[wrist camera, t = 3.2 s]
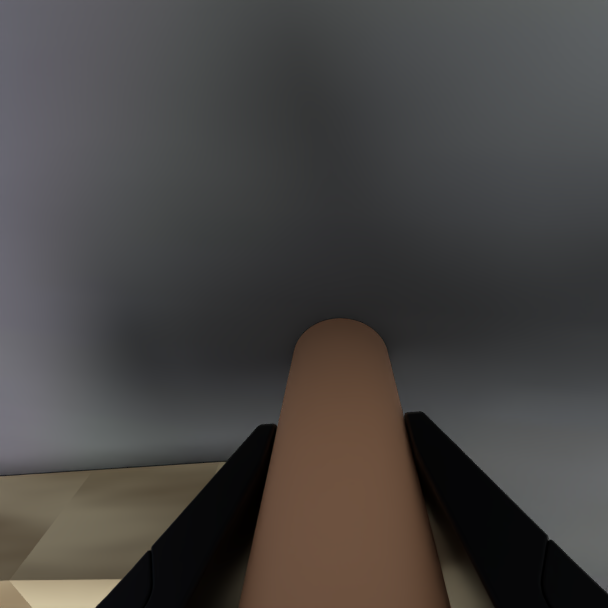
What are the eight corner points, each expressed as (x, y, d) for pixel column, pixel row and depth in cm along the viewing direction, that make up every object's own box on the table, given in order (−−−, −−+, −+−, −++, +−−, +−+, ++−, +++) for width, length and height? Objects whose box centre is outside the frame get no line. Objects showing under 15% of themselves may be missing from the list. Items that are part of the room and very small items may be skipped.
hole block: (425, 609, 16) (451, 743, 12) (51, 608, 19) (-15, 715, 16) (412, 449, 12) (444, 576, 9) (-53, 479, 15) (-174, 582, 12)
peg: (392, 394, 11) (612, 1381, 2) (302, 402, 12) (185, 1250, 3) (384, 312, 10) (768, 1661, 1) (284, 324, 11) (-24, 1348, 2)
